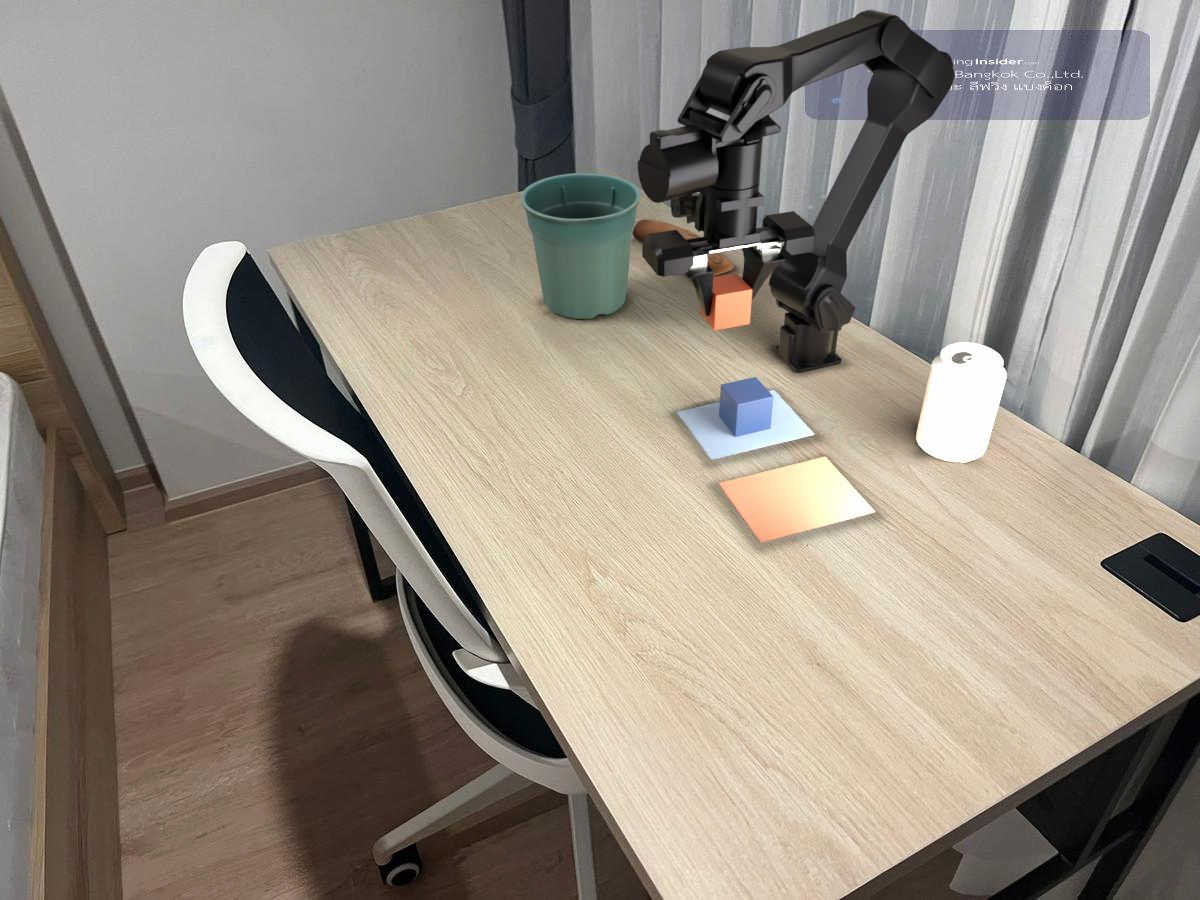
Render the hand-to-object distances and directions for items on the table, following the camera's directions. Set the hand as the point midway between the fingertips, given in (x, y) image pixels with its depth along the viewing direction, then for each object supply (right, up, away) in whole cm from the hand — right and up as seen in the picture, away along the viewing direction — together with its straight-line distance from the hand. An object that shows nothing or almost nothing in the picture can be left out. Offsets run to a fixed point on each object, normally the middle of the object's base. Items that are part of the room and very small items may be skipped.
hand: (725, 311), depth 105 cm
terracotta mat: (+6, -22, -11) cm, 25 cm away
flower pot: (-17, +5, +27) cm, 32 cm away
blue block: (+2, -13, 0) cm, 13 cm away
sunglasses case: (-1, +14, +38) cm, 41 cm away
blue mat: (+2, -14, 0) cm, 14 cm away
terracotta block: (0, -1, +1) cm, 1 cm away
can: (+25, -16, -4) cm, 30 cm away
